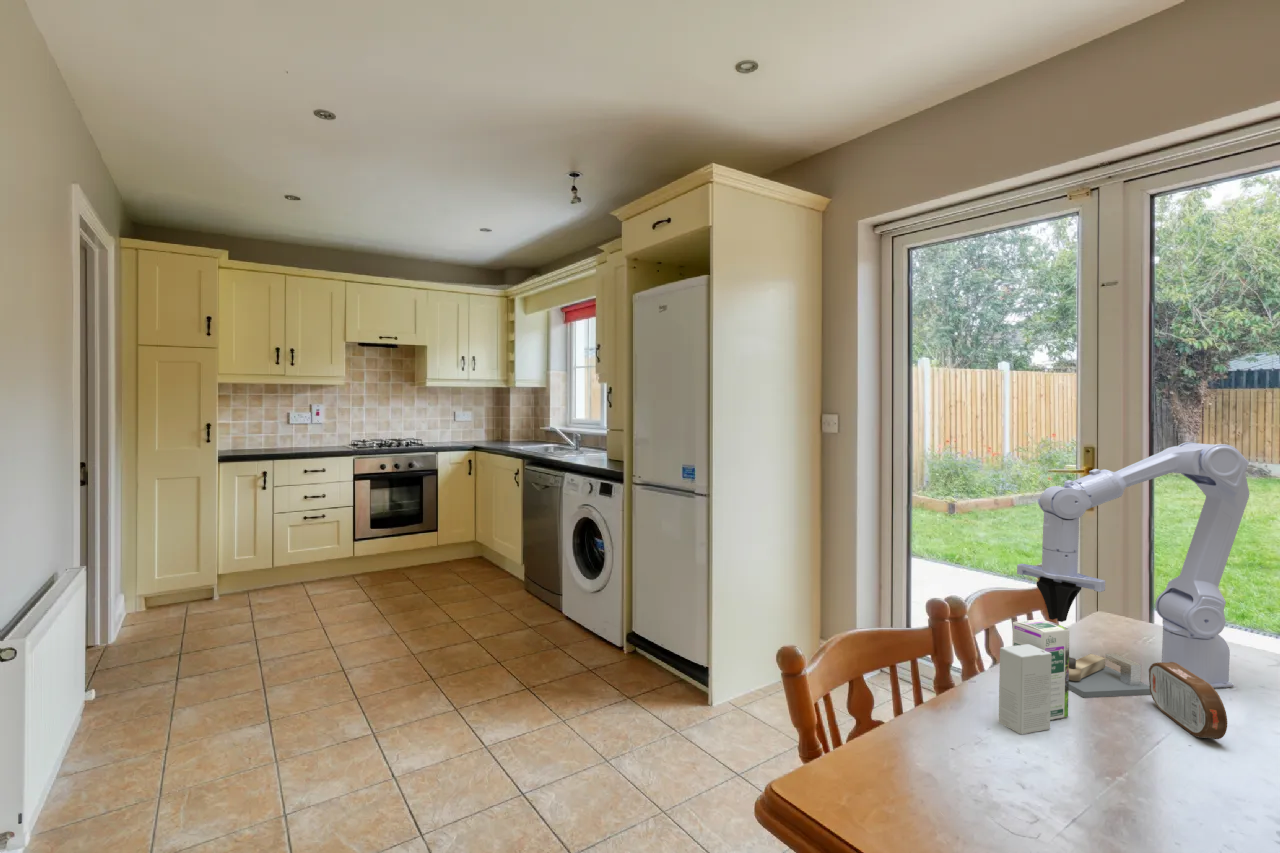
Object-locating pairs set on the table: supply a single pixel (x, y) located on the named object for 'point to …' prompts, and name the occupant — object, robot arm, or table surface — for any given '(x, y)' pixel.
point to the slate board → (1106, 685)
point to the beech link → (1085, 666)
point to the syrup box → (1057, 644)
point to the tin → (1187, 700)
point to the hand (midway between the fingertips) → (1057, 619)
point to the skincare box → (1025, 688)
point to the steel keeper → (1126, 669)
